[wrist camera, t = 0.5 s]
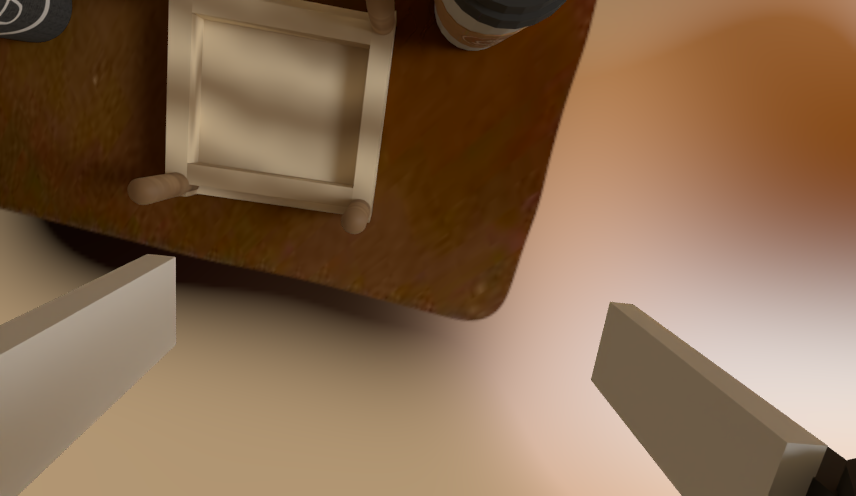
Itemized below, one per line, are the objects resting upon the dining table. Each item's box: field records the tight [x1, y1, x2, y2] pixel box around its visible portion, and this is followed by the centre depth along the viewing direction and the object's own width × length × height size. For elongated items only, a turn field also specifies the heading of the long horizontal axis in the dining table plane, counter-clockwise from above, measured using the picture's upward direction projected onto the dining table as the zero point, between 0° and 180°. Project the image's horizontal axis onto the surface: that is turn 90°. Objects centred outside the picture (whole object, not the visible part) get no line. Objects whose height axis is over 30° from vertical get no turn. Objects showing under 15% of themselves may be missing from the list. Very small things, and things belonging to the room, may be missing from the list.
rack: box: [128, 0, 396, 234], centre depth 33 cm, size 16×16×8 cm
